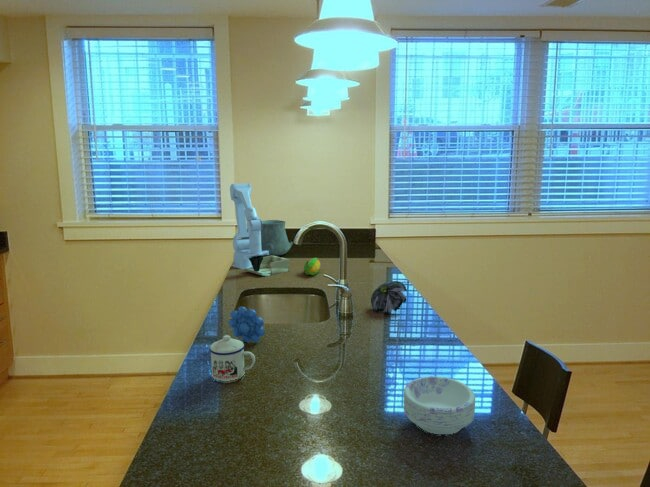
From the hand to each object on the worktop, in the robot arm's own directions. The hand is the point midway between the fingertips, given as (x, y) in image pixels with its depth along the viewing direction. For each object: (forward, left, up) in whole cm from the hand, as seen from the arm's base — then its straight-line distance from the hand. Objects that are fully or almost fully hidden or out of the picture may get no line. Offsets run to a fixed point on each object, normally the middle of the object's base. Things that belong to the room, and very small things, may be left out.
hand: (256, 271), depth 242 cm
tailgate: (0, +3, -2) cm, 4 cm away
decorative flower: (+80, +3, -2) cm, 80 cm away
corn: (+16, +23, -3) cm, 28 cm away
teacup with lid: (+87, -71, -2) cm, 112 cm away
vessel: (-32, +36, -2) cm, 49 cm away
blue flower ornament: (+70, -55, -2) cm, 89 cm away
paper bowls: (+139, -52, -2) cm, 148 cm away
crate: (0, +9, -2) cm, 10 cm away
